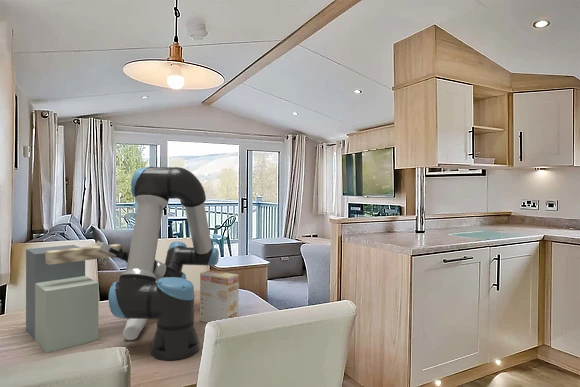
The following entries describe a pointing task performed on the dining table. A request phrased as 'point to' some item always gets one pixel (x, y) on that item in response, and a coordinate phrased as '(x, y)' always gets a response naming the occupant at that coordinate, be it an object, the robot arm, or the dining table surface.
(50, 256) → the wooden bar
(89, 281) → the two-tone stepped block
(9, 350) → the dining table surface
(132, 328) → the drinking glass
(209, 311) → the coffeecake box
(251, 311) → the dining table surface
